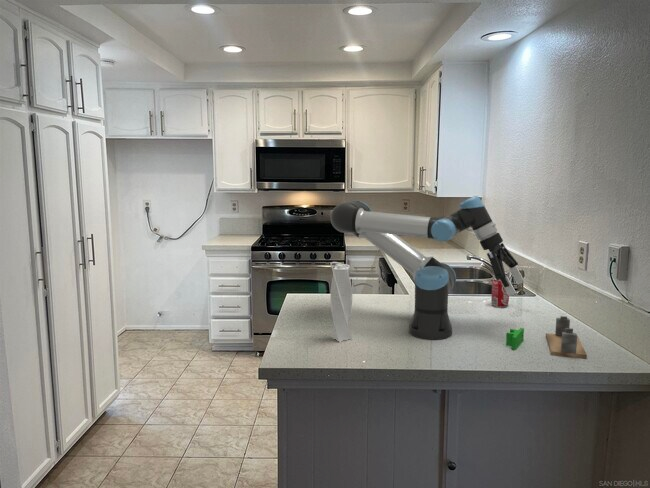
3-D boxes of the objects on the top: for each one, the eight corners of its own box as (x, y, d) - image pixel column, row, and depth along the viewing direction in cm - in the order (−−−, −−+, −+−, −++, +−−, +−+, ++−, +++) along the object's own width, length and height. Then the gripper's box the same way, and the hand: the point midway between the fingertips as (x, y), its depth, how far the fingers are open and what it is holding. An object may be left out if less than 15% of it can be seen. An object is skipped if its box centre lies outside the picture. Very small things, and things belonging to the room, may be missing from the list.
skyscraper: (337, 344, 165) (336, 263, 160) (326, 338, 171) (325, 260, 167) (356, 339, 169) (356, 261, 164) (344, 333, 175) (344, 258, 171)
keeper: (551, 354, 153) (552, 329, 152) (545, 336, 170) (547, 313, 168) (586, 358, 150) (588, 332, 148) (577, 339, 166) (579, 315, 165)
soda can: (510, 305, 209) (511, 278, 207) (506, 309, 203) (507, 281, 202) (493, 303, 213) (494, 276, 211) (489, 306, 207) (490, 279, 205)
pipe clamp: (512, 338, 169) (512, 326, 168) (523, 340, 166) (524, 328, 166) (503, 348, 159) (504, 335, 159) (515, 350, 157) (515, 337, 157)
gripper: (488, 239, 163) (518, 295, 161) (506, 225, 183) (534, 275, 181) (468, 248, 167) (498, 303, 166) (488, 233, 187) (515, 282, 186)
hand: (517, 288), depth 173 cm, fingers open, 13 cm apart
